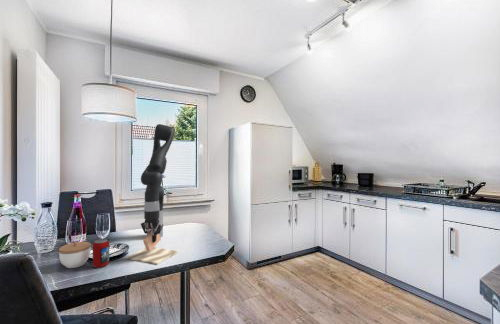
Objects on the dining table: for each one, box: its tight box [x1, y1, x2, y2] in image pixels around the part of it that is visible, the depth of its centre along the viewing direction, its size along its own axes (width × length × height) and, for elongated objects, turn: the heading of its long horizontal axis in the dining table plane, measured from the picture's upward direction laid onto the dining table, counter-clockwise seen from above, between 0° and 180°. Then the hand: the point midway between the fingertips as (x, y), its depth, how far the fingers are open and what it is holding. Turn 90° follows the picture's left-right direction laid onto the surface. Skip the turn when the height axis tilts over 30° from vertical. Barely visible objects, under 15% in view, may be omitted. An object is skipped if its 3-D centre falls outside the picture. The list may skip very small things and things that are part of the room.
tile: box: [142, 231, 162, 251], centre depth 129 cm, size 9×2×7 cm, turn 161°
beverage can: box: [92, 238, 110, 268], centre depth 116 cm, size 7×7×12 cm
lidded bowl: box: [58, 241, 92, 269], centre depth 117 cm, size 13×13×11 cm
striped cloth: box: [125, 246, 179, 266], centre depth 128 cm, size 20×16×1 cm
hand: (152, 241), depth 129 cm, fingers closed on tile, 2 cm apart
